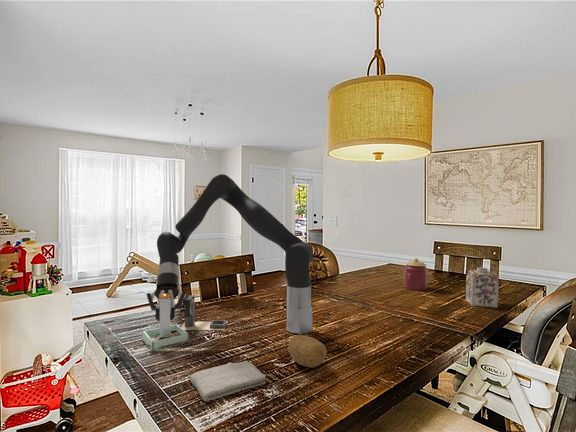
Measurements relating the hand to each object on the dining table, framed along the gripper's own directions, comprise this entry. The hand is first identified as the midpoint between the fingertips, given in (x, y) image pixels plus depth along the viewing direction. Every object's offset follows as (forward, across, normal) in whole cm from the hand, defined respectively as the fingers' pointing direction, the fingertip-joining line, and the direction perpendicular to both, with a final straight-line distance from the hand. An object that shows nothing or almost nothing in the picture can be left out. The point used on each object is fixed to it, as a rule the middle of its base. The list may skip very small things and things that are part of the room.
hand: (164, 319), depth 118 cm
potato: (+24, +43, -13) cm, 51 cm away
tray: (+5, 0, +7) cm, 8 cm away
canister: (-31, +135, +43) cm, 145 cm away
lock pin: (+3, 0, +6) cm, 6 cm away
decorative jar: (-5, +147, +17) cm, 149 cm away
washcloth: (+29, +19, -16) cm, 38 cm away
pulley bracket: (-2, +13, +14) cm, 19 cm away
